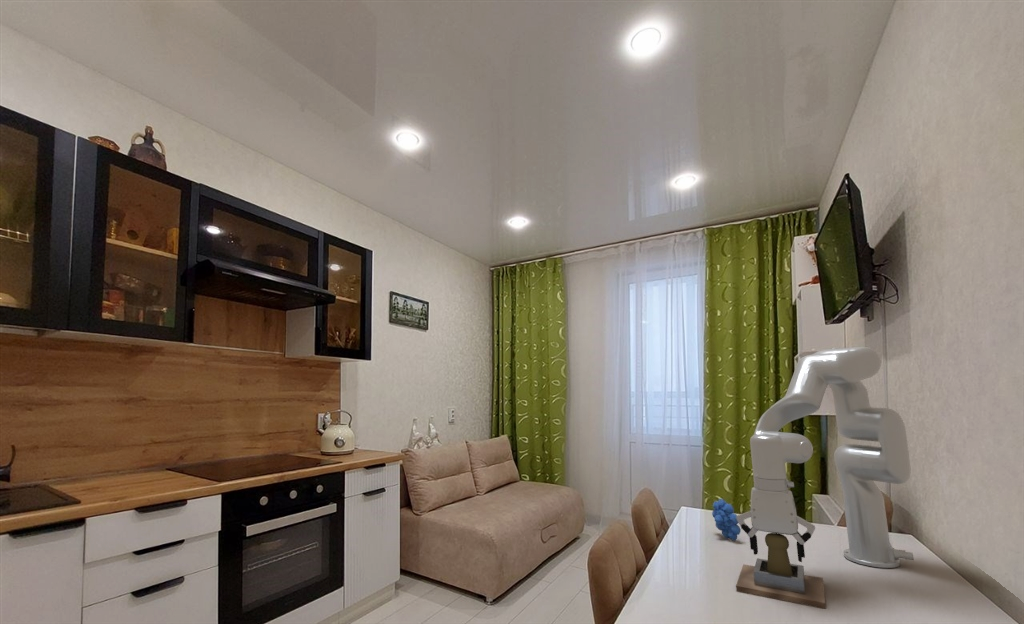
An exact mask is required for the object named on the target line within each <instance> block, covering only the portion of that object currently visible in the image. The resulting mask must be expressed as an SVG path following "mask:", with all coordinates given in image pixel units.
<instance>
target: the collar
mask: <svg viewBox="0 0 1024 624" xmlns="http://www.w3.org/2000/svg"><path fill="white" fill-rule="evenodd" d="M767 564H768V559H763V558H756V561H755V565H754V566H755V567H754V571H753V573H754V584H755V585H758V586H763V587H769V588H774V589H779V590H784V591H790V592H795V593H800V594H805V575H806V574H805V568H804V567H805V566H804V565H800V564H796V563H795V564H794V563H790V565H791V569H792V573H793V577H791V576H786V575H780V574H774V573H769V572H767Z"/></svg>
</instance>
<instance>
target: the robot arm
mask: <svg viewBox="0 0 1024 624" xmlns="http://www.w3.org/2000/svg"><path fill="white" fill-rule="evenodd" d="M881 363H882V362H881V358H880V355H879V353H878V352H877V351H876V350H875V349H874V348H872V347H868V346H856V347H854V346H852V347H843V348H841V347H839V348H829V349H821V350H818V351H816V352H814V353H813V354H807V355H804V356H803V357H801V358H800V359H799V360H798V361H797V364H796V366H795V368H794V372H793V375H792V377H791V380H790V383H789V385H788V387H787V390H786V393H785V395H784V396H783V398H780V399H779V400H778V401H776V402H775V403H774V404H772V405H771V406H770V407H769V408H768V409H767V410H766V411H765V412H763V414H761V416H760V418H759V419H758V422H757V424H756V427H755V429H754V432H753V435H752V436H751V437H749V438H750V439H749V443H750V444H749V446H750V453H751V454H750V456H751V464H752V465H751V466H752V467H751V468H752V475H753V477H752V478H753V487H751V492H750V510H748V511H746V512H743V513H741V514H738V515H737V517H736V519H737V521H738V524H739V527H740V529H741V530H743V531H744V532H745V534H746V535H747V536H748V537H749V545H750V550H752V551H753V555H755V556H756V555H758V553H759V548H758V538H757V537H758V536H757V535H756V534H757V533H758V532H766V533H778V534H782V535H787V536H788V535H789V536H792V537H793V538H794V539H795V540H796V551H797V552H796V553H797V560H798V562H799V563H800V562H801V563H802V562H803V559H804V558H805V557H806V555H805V543H807V541H809V540H810V539H811V538H812V536H813V534H814V531H816V526H815V525H814V524H813V523H811V522H809V521H808V520H806V519H804V518H802V517H800V516H799V515H798V514H797V507H796V503H795V499H794V495H793V492H792V491H791V490H788V489H790V488H795V483H794V481H791V480H789V479H788V477H787V469H786V463H792V464H803V463H806V462H807V461H810V459H811V458H812V456H813V452H814V448H813V444H812V442H811V441H810V439H809V438H808V437H806V436H805V435H802V434H800V433H794V432H784V431H780V430H781V429H782V428H783V427H784V426H785V425H787V424H789V423H790V422H793V421H795V420H799V419H802V418H804V417H807V416H809V415H812V414H815V413H816V412H817V411H819V410H820V408H821V405H822V402H823V400H824V396H825V393H826V390H827V388H828V385H829V387H830V389H831V392H832V395H833V403H834V411H835V412H834V413H835V421H836V427H837V431H838V433H839V434H840V436H842V437H843V438H846V439H849V440H856V441H866V442H867V441H868V442H878V443H880V446H877V445H876V446H875V445H867V444H857V443H856V444H854V443H848V444H843V445H840V446H838V447H837V448H836V449H835V450H834V453H833V454H834V455H833V460H834V464H835V467H836V470H837V475H838V477H839V481H840V486H841V491H842V497H843V507H844V517H845V522H846V523H845V524H846V532H847V539H848V540H847V541H848V547H849V548H846V549H844V550H843V552H842V553H843V556H844V557H845V558H846V559H847V560H849V561H851V562H854V563H856V564H859V565H863V566H868V567H873V568H882V569H893V568H898V567H899V566H900V565H901V563H900V559H904V560H906V561H907V560H909V561H914V558H915V557H914V553H913V552H911V551H910V552H909V551H906V549H905V550H904V549H895V548H894V547H893V546H892V544H891V542H890V535H889V527H888V520H887V513H886V506H885V504H886V503H885V498H884V495H883V492H882V491H881V489H880V487H878V485H877V484H876V483H875V482H880V483H888V484H893V485H894V484H895V485H901V484H902V485H903V484H905V483H907V482H908V481H909V480H910V477H911V460H910V453H909V452H910V451H909V446H908V439H907V438H908V437H907V430H906V426H905V422H904V420H903V418H902V416H901V415H900V414H899V413H898V412H897V411H896V410H894V409H891V408H887V407H874V406H873V407H871V403H870V400H869V398H870V397H869V393H868V392H869V391H868V389H867V388H866V386H865V385H864V383H863V382H862V381H863V380H866V379H870V378H873V377H874V376H875V375H877V374H878V373H879V371H880V370H881ZM749 518H750V521H751V527H749V526H748V525H747V523H746V522H745V520H747V519H749ZM799 525H801V526H803V527H804V528H805V529H806V531H805V532H804V533H803V534H801V532H799V531H798V529H799Z"/></svg>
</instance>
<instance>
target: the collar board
mask: <svg viewBox="0 0 1024 624" xmlns="http://www.w3.org/2000/svg"><path fill="white" fill-rule="evenodd" d="M754 567H755V565H748V564H744V563H743V564H742V566H741V571H740V573H739V576H738V579H737V581H736V583H735V584H736V585H735V590H736V592H740V593H744V594H750V595H754V596H759V597H765V598H769V599H770V598H771V599H775V600H779V601H785V602H789V603H794V604H800V605H803V606H804V605H805V606H810V607H814V608H820V609H824V610H825V609H826V598H825V597H826V596H825V588H824V577H820V576H814V575H807V574H804V575H805V594H800V593H795V592H790V591H784V590H779V589H774V588H769V587H763V586H758V585H755V584H754V573H753V571H754Z"/></svg>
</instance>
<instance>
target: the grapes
mask: <svg viewBox="0 0 1024 624" xmlns="http://www.w3.org/2000/svg"><path fill="white" fill-rule="evenodd" d="M712 507H713V510H712V512H711V515H712V518H714V522H715V527H716V528H717V530H719V531H721V535H722V536H723V537H724V539H730V540H732V541H736V540H737V539H738V536H739V535H740V534H741V530H742V528H741V526H740V525H738V524H739V523H738V521H737V519H736V517H737V516H738V515H737V514H736V513H734V511H735V509H734V507H733V505H732V504H730V503H729V502H728V503H727V501H725V499H723V498H719V499H718V501H717V500H715V501H714V502H713V503H712Z"/></svg>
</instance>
